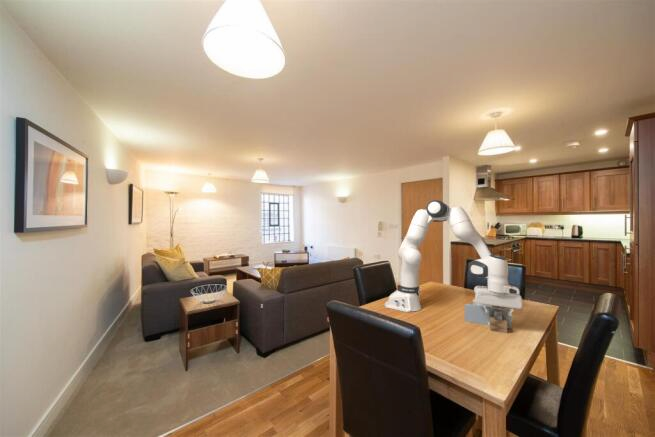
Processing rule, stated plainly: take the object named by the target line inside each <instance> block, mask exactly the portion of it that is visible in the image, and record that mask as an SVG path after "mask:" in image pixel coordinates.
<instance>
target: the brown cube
mask: <svg viewBox="0 0 655 437" xmlns="http://www.w3.org/2000/svg"><path fill="white" fill-rule="evenodd" d="M489 322H490V326H489V330H490V331H491V332H496V333H502V334H508V328H507V321H506V318H505V317H502V313H501V310H494V316H493V315H489Z"/></svg>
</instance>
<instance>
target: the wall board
mask: <svg viewBox="0 0 655 437" xmlns="http://www.w3.org/2000/svg"><path fill="white" fill-rule="evenodd" d="M485 307H486V309H489V313H485V309H484V307H483V306H480V305H474V304H473V303H472V304H471V303H464V322H467V323H474V324H480V325H488V327H490V322H489V315H493V316H494V310H501V313H502V317H505V318H506V321H507V329H512V316H511V317H510V316H507V312H509V311H510V308H504V307H503V308H501V307H499V308H495V307H488V306H485Z"/></svg>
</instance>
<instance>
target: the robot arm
mask: <svg viewBox="0 0 655 437" xmlns="http://www.w3.org/2000/svg"><path fill="white" fill-rule="evenodd" d="M425 208H426V209H425ZM425 208H424V209H423V208H421V209H418V210H417V211H416V212H415V214H414V215H413V217H412V219H411V221H410V224H409V227H408V230H407V232H406V235H405V237H404V238H403V240H402V242H401V244H400V247H398V249H397V256H398V259H399V260H401V266H400V267H401V269H400V272H399V279H400V280H399V281H400V282H399V283H398V284H397V286H396V290H394V292H392V293H390V295H389V297H388V300H387V301H385V303H384V307H385V308H386V309H390V310H391V309H392V310H396V311H399V312H405V313H410V312H418V311H421V310H422V306H421V300H420V286H419V272H420V266H421V262H422V257H423V256H422V253H421V252H420V250H419V248H420V247H421V245H422V243H423V242H424V241H425V238H426V236H427V233H428V230H429V227H430V225H431V223H433V222H434V223H438V222H440V223H441V222H442V223H443V222H446V221H447V222H448V223H449V226H450V229H451V231H452V233H453V235H454V236H455V237H456V238H457V239H459V240H461V241H464V242H466V243H468V244H470V245H472V246H473V247H474V249H475V250H476V252H477V254H478V256H479V257H480V258H478V259H474V260H472V261H470V262H469V264H468V270H469V273H470V274H471V276H473V277H475V278H478V279H479V278H480V279H481V278H484V279H485V278H486V279H487V285H476V286H474V288H473V292H474V300H475V302H476V303H478V304H483V307H484V309H485V313H489V309H486V307H485V306H486V305H493V306H499V307H500V308H501V307H503V308H508V309H510V311H509V312H507V316H510V317H511V318H512V313H513V312H514V311H515V309H518V310H522V309H523V308H524V302H523V298H522V296H521V295H520V289H519V287H517V286H514V285H511V284H509V280H508V276H509V264H508V261H507V260H508V259H507V258H505V256H502V255H499V254H494V253H493V252H492V251H491V249H490V247H489V246H488V244H487V242H486V241H485V239H484V237H483V236H482V235H481V234H480V233H479V231H478V230H477V229H476V227H475V226H474V224H473V222H472V221H471V219H470V217H469V214H468V213H467V211H465V209H464V208H463V207H462V206H453V207H450V206H449V205H448V204H446V203H445V202H443V201H441V200H438V199H433V200H431V201H429V202H428V203H427V205H426V207H425ZM487 288H488V289H487ZM475 293H476V294H475Z"/></svg>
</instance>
